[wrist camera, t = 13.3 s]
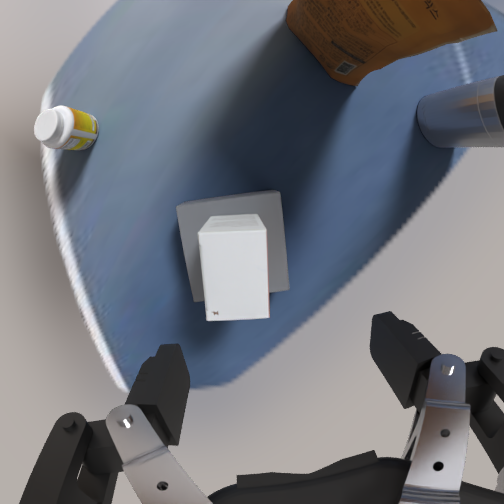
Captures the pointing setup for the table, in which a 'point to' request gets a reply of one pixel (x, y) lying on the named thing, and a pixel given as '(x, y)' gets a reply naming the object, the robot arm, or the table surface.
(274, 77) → the table surface
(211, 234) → the small box
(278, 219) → the base block
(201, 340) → the table surface
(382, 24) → the pancake mix bag
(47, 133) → the supplement bottle
